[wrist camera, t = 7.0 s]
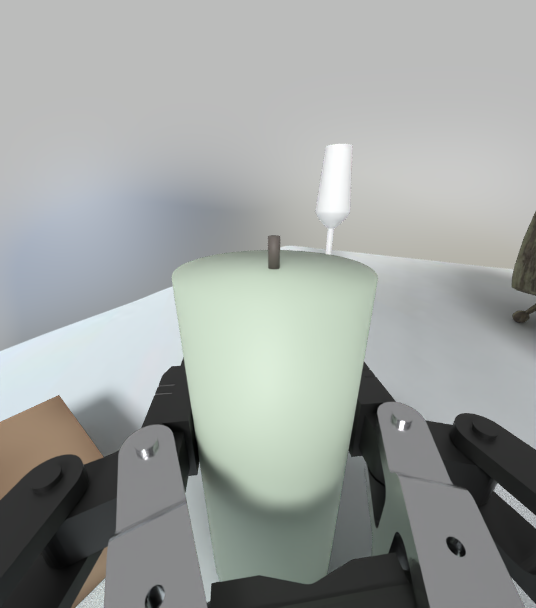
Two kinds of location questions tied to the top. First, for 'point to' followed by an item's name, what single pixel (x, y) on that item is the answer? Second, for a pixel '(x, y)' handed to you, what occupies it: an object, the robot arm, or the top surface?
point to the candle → (273, 399)
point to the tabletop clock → (526, 270)
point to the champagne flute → (334, 189)
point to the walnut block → (46, 455)
